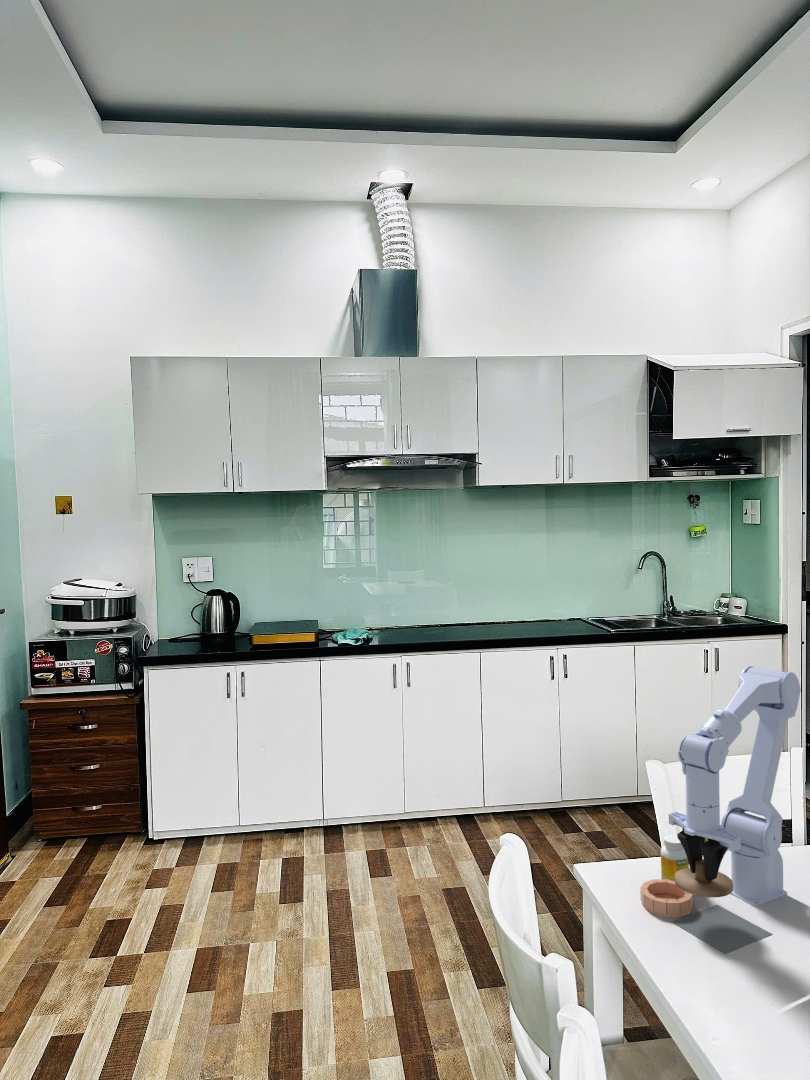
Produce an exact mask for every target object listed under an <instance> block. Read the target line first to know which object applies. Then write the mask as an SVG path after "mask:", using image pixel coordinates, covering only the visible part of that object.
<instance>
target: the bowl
mask: <svg viewBox="0 0 810 1080" xmlns="http://www.w3.org/2000/svg"><path fill="white" fill-rule="evenodd" d="M639 889H640V891H639V893H640V901H641V905H642V907H643V908H644V909H645V910H646V911H648V912H650V913H652V914H655V915H657V916H660V917H667V918H678V917H680V918H682V917H685V916H688V915H690V913H691V912H692V910H693V906H694V894H691V893H688V892H686V891H684V890H682V889H680V888H679V887H678V886H677V885H676V883H675V881H671V880H667V879H661V878H659V879H651V880H648V881H647V880H646V881H644V882H643V883H642V885H641V886H640V887H639Z"/></svg>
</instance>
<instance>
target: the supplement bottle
mask: <svg viewBox="0 0 810 1080" xmlns="http://www.w3.org/2000/svg"><path fill="white" fill-rule="evenodd" d="M663 845H664V846H662V847H661V849H660V871H661V873H660V877H661V878H660V879H667V880H671V881H675V873H676V872H677V871H679V870H681V869H684V868H690V866H689V862H688V859H687V856H686V853H685V850H684V848H683V846H682V844H681V842H680V841H679V839H678V838H677V834H668V835H666V836H663Z"/></svg>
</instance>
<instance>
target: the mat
mask: <svg viewBox="0 0 810 1080" xmlns="http://www.w3.org/2000/svg"><path fill="white" fill-rule="evenodd" d="M671 923H672V924H674V925H675V926H677V927H679V928H680V929H682V930H684V931H686V932H687V933H688V934H691V936H693V937H695V938H697V939H699V940H701V941H702V942H703V943H705V944H707V945H709V946H710V947H712V948H714V949H715V950H717V951H718V952H721V953H722V954H724V955H727V954H729V953H731V952H734V951H736V950H739V949H741V948H744V947H746V946H748V945H750V944H752V943H756V942H757V941H761V940H763V939H766V938H767V937H770V936H773V933H772V932H769V931H768V930H765V929H764V928H763V927H760V926H758V925H756V924H755V923H753V922H751V921H749V920H747V919H745V918H743V917H742V916H740V915H738V914H736V913H734V912H733V911H730V910H728V909H727V908H724V907H723V906H721V905H719V904H715V905H712V906H710V907H707V908H704V909H701V910H699V911H697V912H694V913H693V912H692V913H691V914H690V913H689V914H687V915H685V916H681V917H680V918H678V919H674V920H672V921H671Z"/></svg>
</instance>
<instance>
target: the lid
mask: <svg viewBox="0 0 810 1080" xmlns="http://www.w3.org/2000/svg"><path fill="white" fill-rule="evenodd" d="M675 883H676V885H677V886H678V887H679V888H680V889H682V890H684V891H686V892H688V893H691V894H693V896H698V897H705V898H722V897H727V896H728V895H731V894H730V893H732V891H733V882H732V878H730V877H729V876H728V875H726V874H725V873H722V872H720V871H718V875H717V878H716V879H714V880H711V881H708V880H706V877H705V864H704V858H703V859H698V860H696V861H695V873H692V872H691V869H690V867H689V868H684V869H681V870H679V871H677V872H676V873H675Z"/></svg>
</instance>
